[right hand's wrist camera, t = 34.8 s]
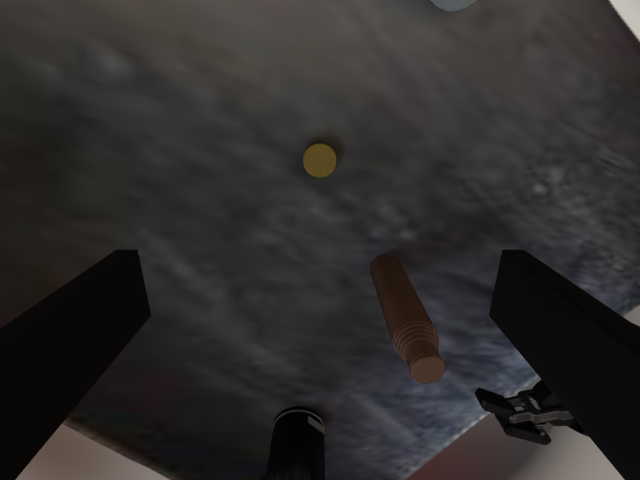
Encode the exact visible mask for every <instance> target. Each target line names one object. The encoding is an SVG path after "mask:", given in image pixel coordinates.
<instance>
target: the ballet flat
mask: <svg viewBox="0 0 640 480" xmlns="http://www.w3.org/2000/svg"><path fill="white" fill-rule="evenodd" d="M430 1H431V2H432V3H433V4H435V5H436V6H437V7H438V8H441V9H443V10H445V11H449V12H456V11H460V10H462V9H464V8H466V7H468V6H469V5H471V4H472V3H474V2H475V1H476V0H430Z"/></svg>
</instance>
